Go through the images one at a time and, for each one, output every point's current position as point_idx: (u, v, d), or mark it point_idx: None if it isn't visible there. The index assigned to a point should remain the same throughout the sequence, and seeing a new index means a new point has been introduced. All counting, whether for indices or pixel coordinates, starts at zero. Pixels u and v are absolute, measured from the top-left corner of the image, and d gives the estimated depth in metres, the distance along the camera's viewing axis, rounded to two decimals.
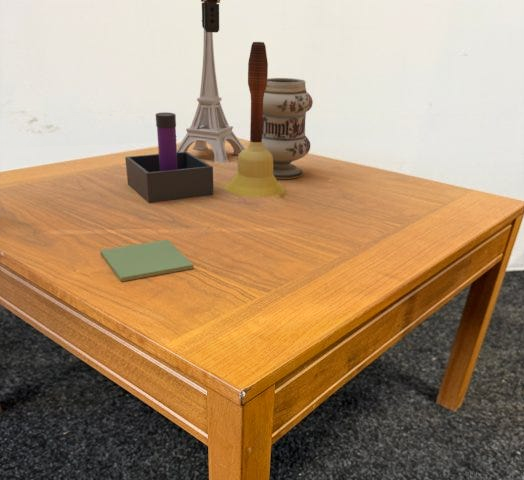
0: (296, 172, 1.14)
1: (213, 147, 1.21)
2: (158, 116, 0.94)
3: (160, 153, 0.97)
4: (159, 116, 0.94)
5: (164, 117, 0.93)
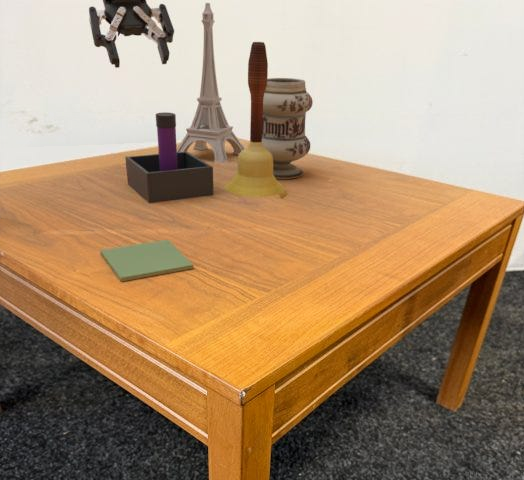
0: (296, 172, 1.14)
1: (213, 147, 1.21)
2: (158, 116, 0.94)
3: (160, 153, 0.97)
4: (159, 116, 0.94)
5: (164, 117, 0.93)
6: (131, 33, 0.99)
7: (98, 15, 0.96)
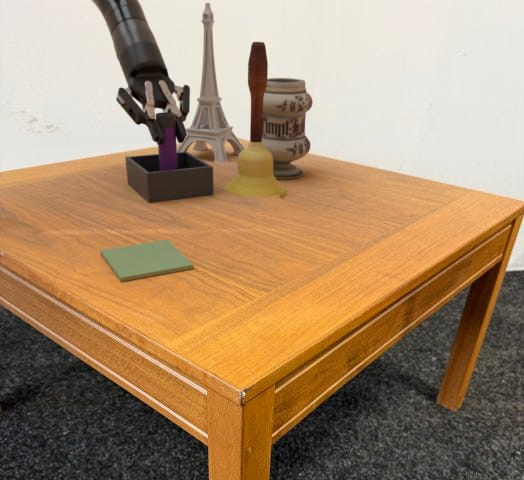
0: (296, 172, 1.14)
1: (213, 147, 1.21)
2: (158, 116, 0.94)
3: (160, 153, 0.97)
4: (159, 116, 0.94)
5: (164, 117, 0.93)
6: (155, 106, 0.97)
7: (130, 94, 0.93)
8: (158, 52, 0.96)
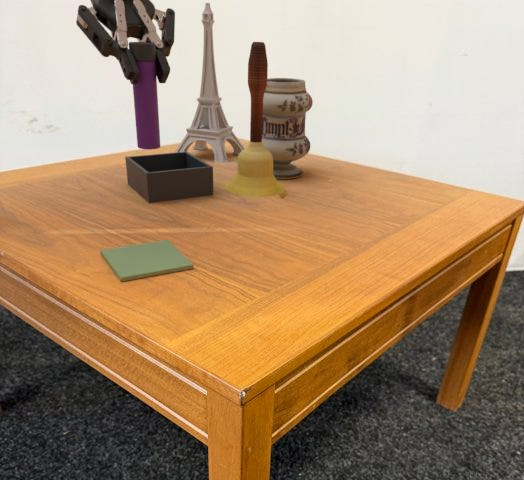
0: (296, 172, 1.14)
1: (213, 147, 1.21)
2: (132, 44, 0.70)
3: (135, 97, 0.74)
4: (133, 44, 0.70)
5: (140, 46, 0.70)
6: (129, 34, 0.73)
7: (94, 14, 0.70)
8: None
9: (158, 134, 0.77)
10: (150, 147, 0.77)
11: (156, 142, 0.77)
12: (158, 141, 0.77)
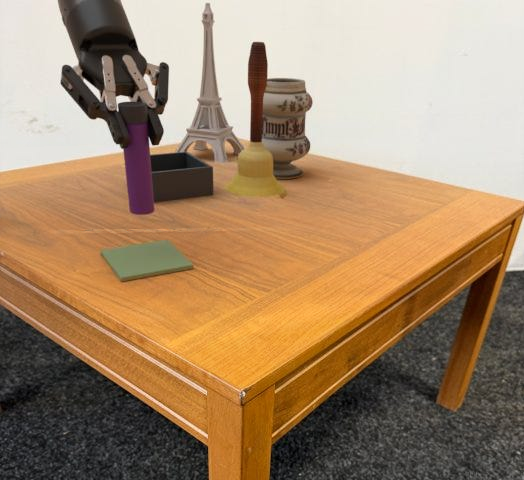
0: (296, 172, 1.14)
1: (213, 147, 1.21)
2: (121, 107, 0.64)
3: (126, 160, 0.68)
4: (122, 107, 0.64)
5: (130, 108, 0.64)
6: (118, 93, 0.67)
7: (79, 74, 0.64)
8: (122, 14, 0.66)
9: (152, 198, 0.71)
10: (143, 212, 0.71)
11: (150, 207, 0.71)
12: (152, 205, 0.71)
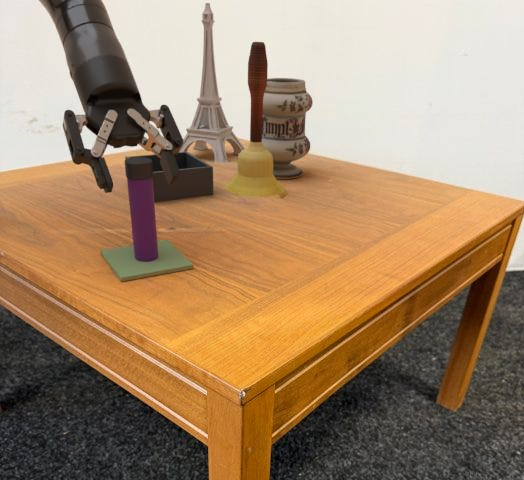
0: (296, 172, 1.14)
1: (213, 147, 1.21)
2: (128, 164, 0.68)
3: (132, 212, 0.71)
4: (129, 164, 0.67)
5: (136, 165, 0.67)
6: (123, 144, 0.70)
7: (78, 122, 0.67)
8: (127, 70, 0.69)
9: (156, 246, 0.74)
10: (147, 259, 0.74)
11: (154, 254, 0.74)
12: (156, 252, 0.75)
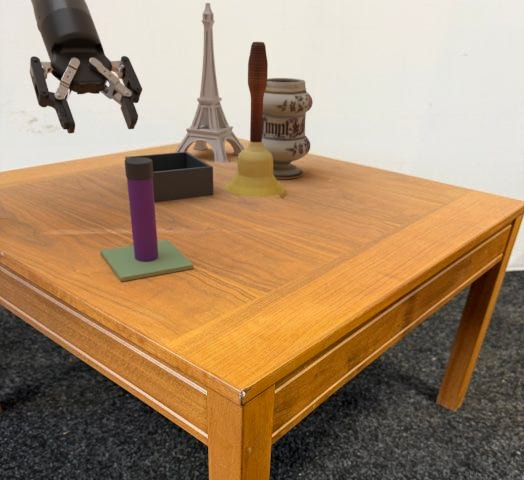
0: (296, 172, 1.14)
1: (213, 147, 1.21)
2: (128, 164, 0.68)
3: (132, 212, 0.71)
4: (129, 164, 0.67)
5: (136, 165, 0.67)
6: (86, 91, 0.77)
7: (43, 67, 0.73)
8: (89, 22, 0.76)
9: (156, 246, 0.74)
10: (147, 259, 0.74)
11: (154, 254, 0.74)
12: (156, 252, 0.75)
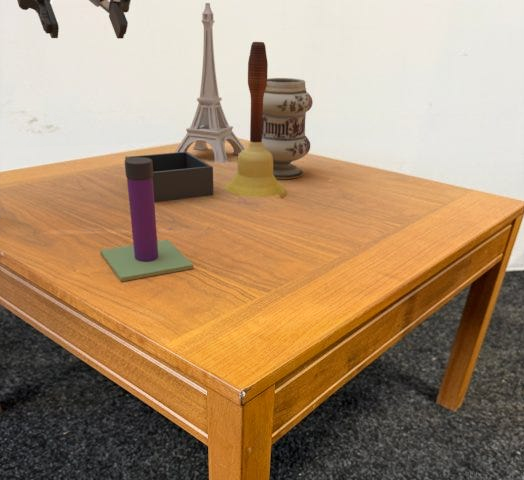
0: (296, 172, 1.14)
1: (213, 147, 1.21)
2: (128, 164, 0.68)
3: (132, 212, 0.71)
4: (129, 164, 0.67)
5: (136, 165, 0.67)
6: None
7: None
8: None
9: (156, 246, 0.74)
10: (147, 259, 0.74)
11: (154, 254, 0.74)
12: (156, 252, 0.75)
